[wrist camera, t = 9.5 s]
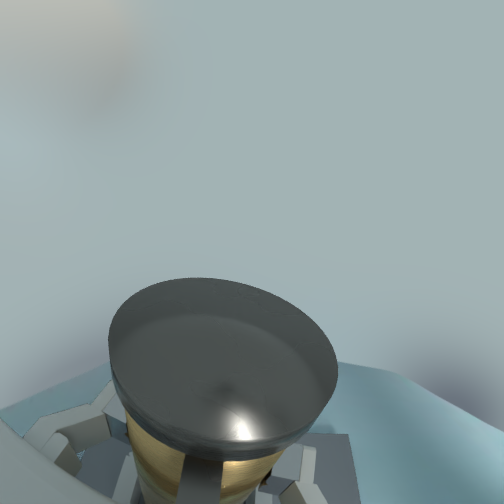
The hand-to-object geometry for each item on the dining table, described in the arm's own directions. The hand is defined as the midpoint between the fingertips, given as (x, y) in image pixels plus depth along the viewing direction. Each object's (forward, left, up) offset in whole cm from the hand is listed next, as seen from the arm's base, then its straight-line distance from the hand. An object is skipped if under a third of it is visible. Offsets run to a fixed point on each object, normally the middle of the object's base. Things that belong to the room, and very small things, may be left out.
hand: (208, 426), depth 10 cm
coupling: (0, +1, -7) cm, 7 cm away
